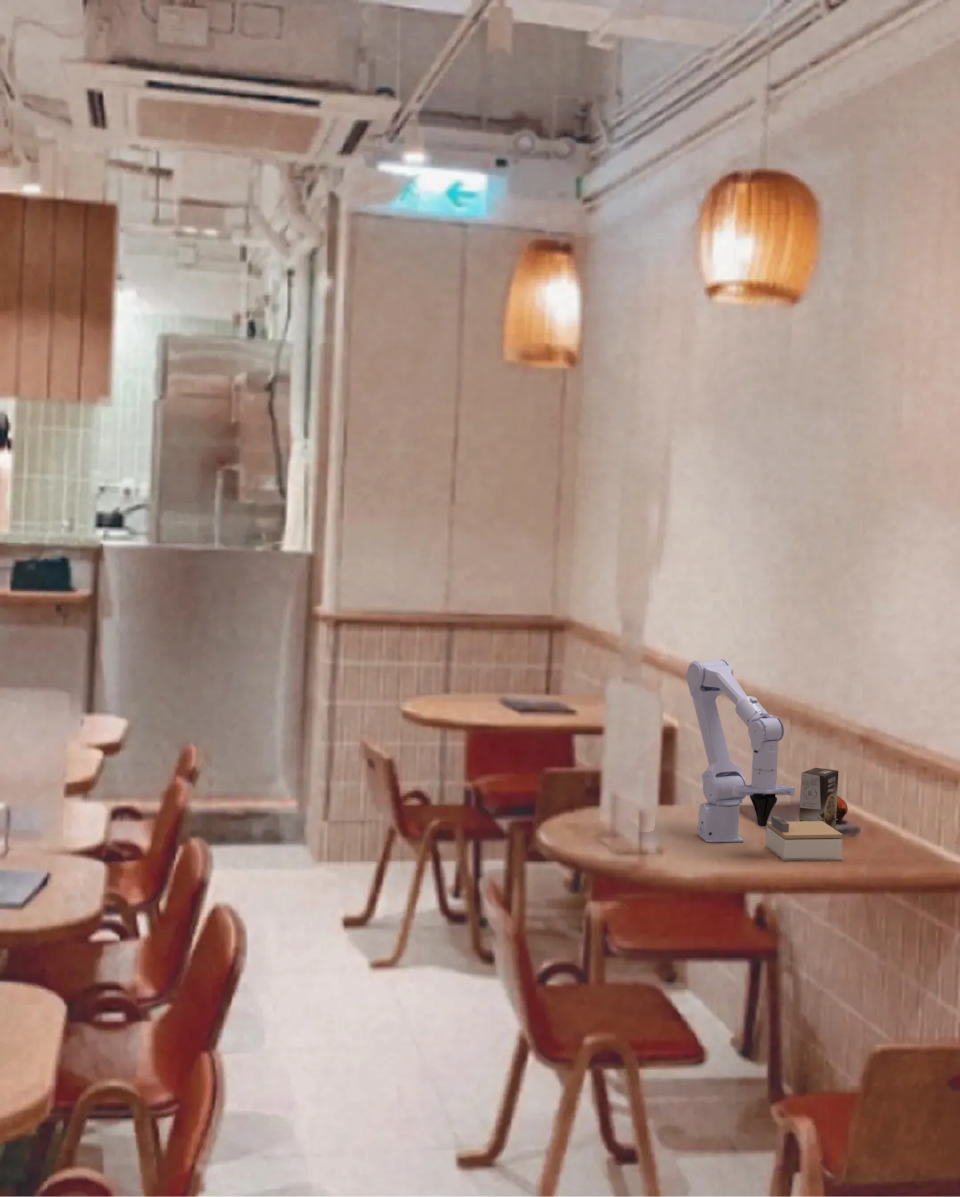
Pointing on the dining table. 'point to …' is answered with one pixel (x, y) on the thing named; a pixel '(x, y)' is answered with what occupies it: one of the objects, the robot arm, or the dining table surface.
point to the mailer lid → (803, 829)
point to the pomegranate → (841, 808)
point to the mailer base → (803, 847)
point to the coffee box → (819, 796)
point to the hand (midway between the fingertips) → (761, 825)
